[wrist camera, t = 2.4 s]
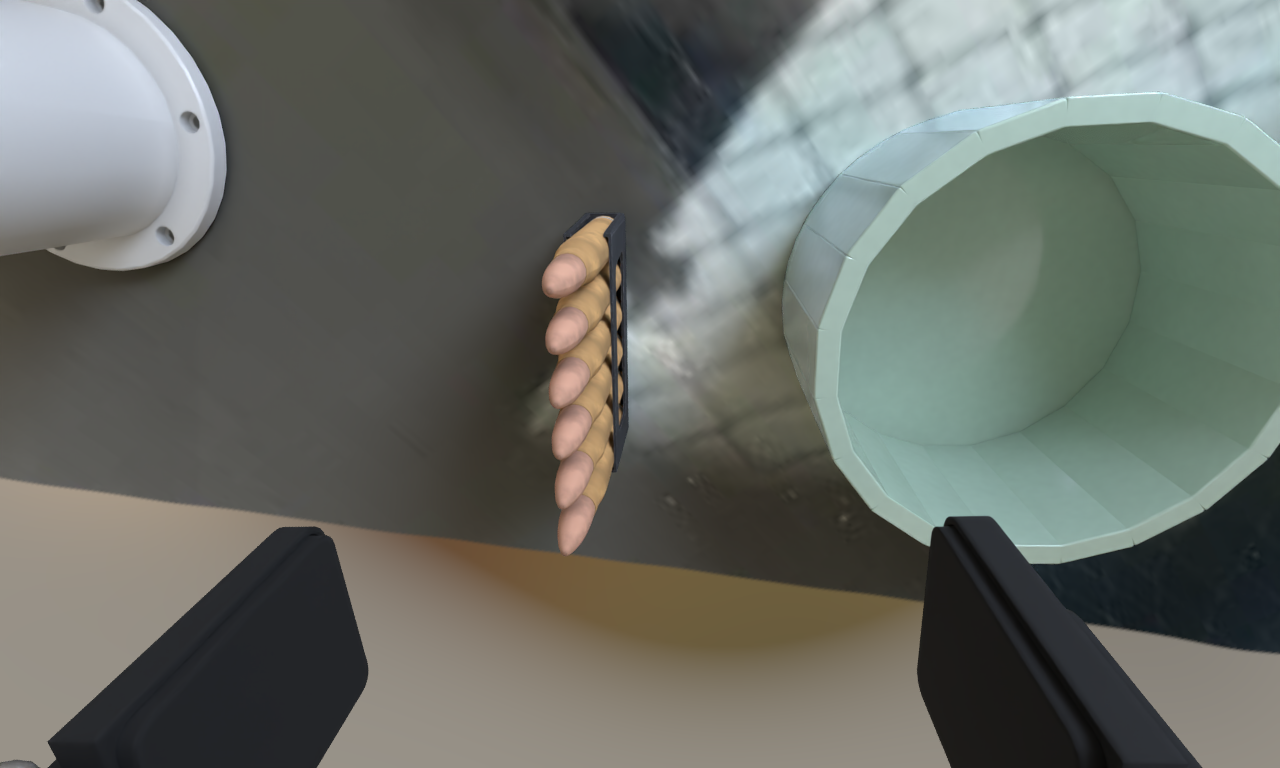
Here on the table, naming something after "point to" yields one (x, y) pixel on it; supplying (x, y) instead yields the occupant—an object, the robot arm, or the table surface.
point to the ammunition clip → (588, 367)
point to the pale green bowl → (1046, 318)
